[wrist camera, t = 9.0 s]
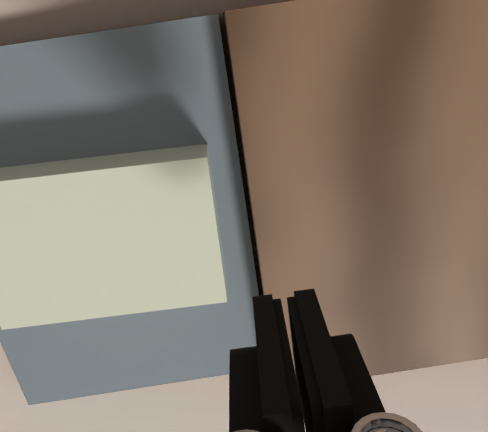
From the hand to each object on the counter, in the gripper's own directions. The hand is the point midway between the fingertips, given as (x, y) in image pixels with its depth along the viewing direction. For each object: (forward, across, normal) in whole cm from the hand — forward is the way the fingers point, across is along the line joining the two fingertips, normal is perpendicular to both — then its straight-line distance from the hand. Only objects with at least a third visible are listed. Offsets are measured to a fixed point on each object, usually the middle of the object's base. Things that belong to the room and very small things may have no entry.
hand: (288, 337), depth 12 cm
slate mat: (+8, +7, 0) cm, 11 cm away
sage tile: (+7, +6, -1) cm, 10 cm away
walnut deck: (+8, -5, 0) cm, 10 cm away
